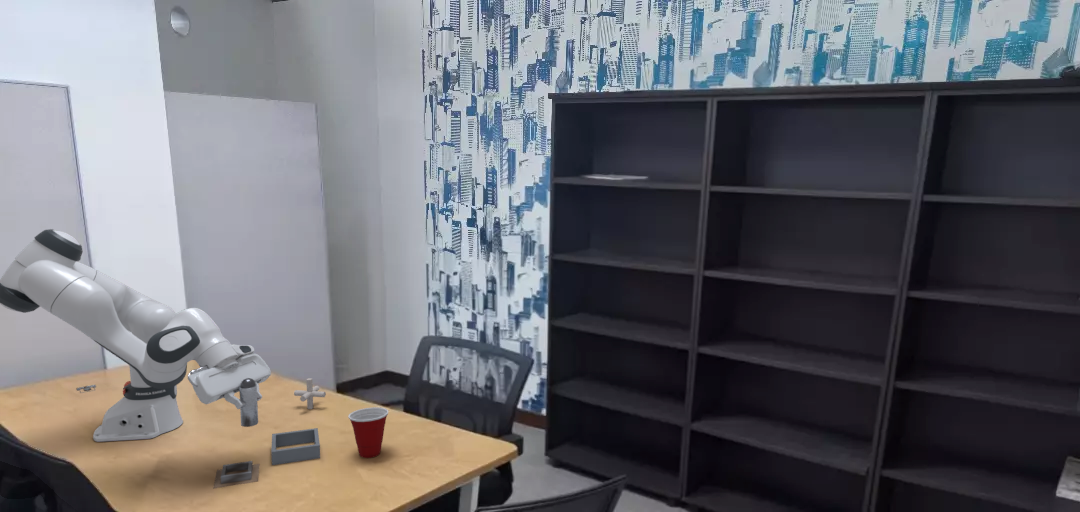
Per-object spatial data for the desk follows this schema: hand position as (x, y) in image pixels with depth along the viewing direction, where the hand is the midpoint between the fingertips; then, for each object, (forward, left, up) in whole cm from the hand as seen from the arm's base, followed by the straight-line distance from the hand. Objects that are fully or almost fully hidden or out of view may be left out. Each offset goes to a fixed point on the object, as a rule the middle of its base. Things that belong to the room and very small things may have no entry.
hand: (250, 403), depth 158 cm
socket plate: (-4, -2, -19) cm, 20 cm away
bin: (+10, +7, -19) cm, 23 cm away
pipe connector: (+15, +42, -19) cm, 49 cm away
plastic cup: (+29, +2, -19) cm, 35 cm away
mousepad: (-60, +88, -20) cm, 109 cm away
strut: (0, 0, -5) cm, 6 cm away
